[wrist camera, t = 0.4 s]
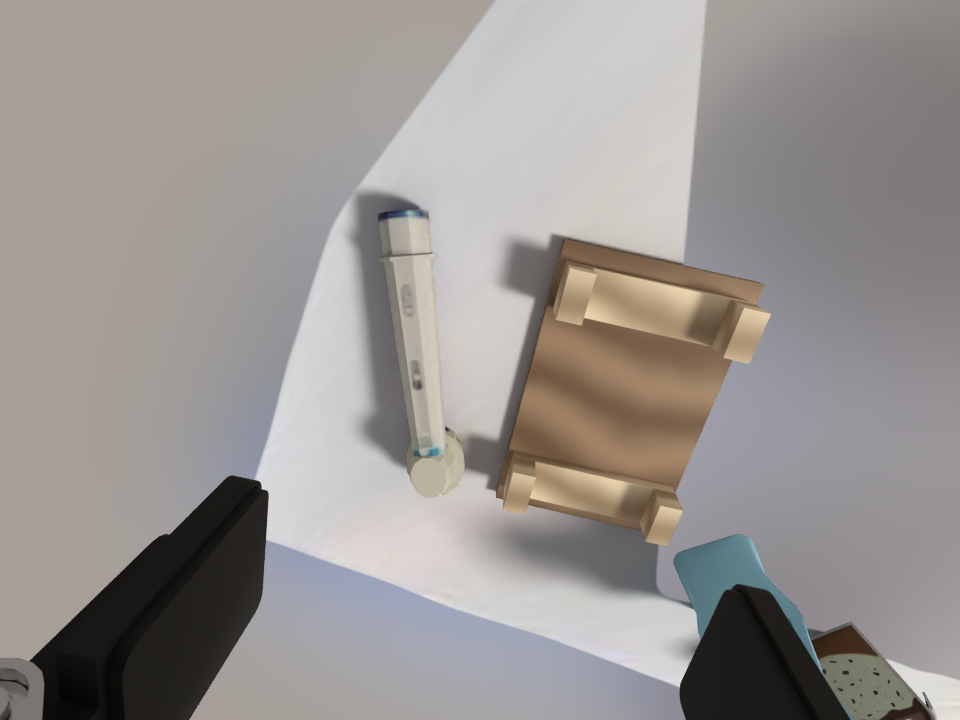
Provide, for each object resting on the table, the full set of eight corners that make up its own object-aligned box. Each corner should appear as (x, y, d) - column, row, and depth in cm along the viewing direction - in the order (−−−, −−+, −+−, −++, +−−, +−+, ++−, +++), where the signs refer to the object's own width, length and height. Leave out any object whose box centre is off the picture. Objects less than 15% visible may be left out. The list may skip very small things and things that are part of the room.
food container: (776, 694, 56) (827, 799, 46) (751, 660, 54) (798, 762, 45) (889, 653, 52) (968, 758, 43) (865, 615, 51) (942, 715, 42)
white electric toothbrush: (431, 207, 36) (460, 517, 42) (445, 213, 43) (469, 480, 48) (361, 213, 37) (399, 518, 42) (386, 218, 43) (416, 482, 49)
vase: (748, 530, 48) (889, 756, 30) (771, 588, 51) (915, 832, 32) (669, 554, 50) (755, 782, 32) (694, 610, 52) (788, 853, 34)
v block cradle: (564, 238, 40) (569, 246, 36) (758, 282, 40) (786, 295, 36) (496, 491, 49) (493, 521, 45) (654, 527, 49) (667, 560, 45)
